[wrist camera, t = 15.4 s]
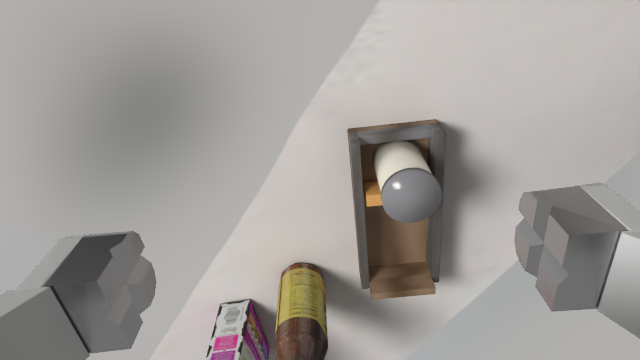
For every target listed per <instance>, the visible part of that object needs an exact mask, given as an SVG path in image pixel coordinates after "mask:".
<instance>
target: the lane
mask: <svg viewBox="0 0 640 360" xmlns="http://www.w3.org/2000/svg"><path fill="white" fill-rule="evenodd" d="M348 140H349V152H350V164H351V176H352V188H353V200H354V212H355V224H356V235H357V247H358V259H359V270H360V277H361V284H362V289H367V288H370V293H371V299H372V300H373V299H384V298H395V297H406V296H417V295H428V294H435V285H434V283H433V282H439V270H440V246H441V222H442V199H441V203H440V205H439V207H438V208H437V210H436V211H435V212H434V213H433V214H432V215H431V216H429V217H428V218H426V219H424V220H422V221H419V222H414V223H403V222H399V221H396V220H394V219H392V218H391V217H390V216H389V215H388V214H387V213H386V212H385V210H384V208H383V205H379V206H369V207H367V205H366V200H365V195H364V183H363V182H372V181H378V180H377V176H376V172H375V169H374V165H373V160H372V158H373V153H374V150H375V148H376V147H377V145H378V144H379V143H384V142H393V141H403V140H413V141H414V142H415V143H416V144H417V146H418V148H419V150H420V152H421V153H422V155H423V157H424V159H425V161H426V163H427V165H428V167H429V169H430V171H431V173H432V175H434V177H435V178H436V180H437V181H438V183H439V185H440V187H441V191H442V198H443V174H444V150H445V133H444V131H443V130H442V128H441V127H440V125H439V124H438V122H437V121H436V119H435V120H426V121H416V122H407V123H398V124H389V125H379V126H370V127H361V128H351V129H348Z"/></svg>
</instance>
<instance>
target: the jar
mask: <svg viewBox="0 0 640 360" xmlns="http://www.w3.org/2000/svg"><path fill="white" fill-rule="evenodd" d="M372 160H373V165H374V169H375V172H376V176H377V180H378V184H379V187H380V191H381V201H382V204H383V208H384V210H385V212H386V213H387V214H388V215H389V216H390V217H391V218H392V219H394V220H396V221H399V222H403V223H414V222H419V221H422V220H424V219H426V218H428V217H429V216H431V215H432V214H433V213H434V212H435V211H436V210H437V208H438V207H439V205H440V203H441V199H442V191H441V187H440V185H439V183H438V181H437V180H436V178H435V177H434V175H432V173H431V171H430V169H429V167H428V165H427V163H426V161H425V159H424V157H423V155H422V153H421V152H420V150H419V148H418V146H417V144H416V143H415V142H414V141H413V140H403V141H393V142H384V143H379V144H378V145H377V147H376V148H375V150H374V153H373V158H372Z"/></svg>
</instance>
